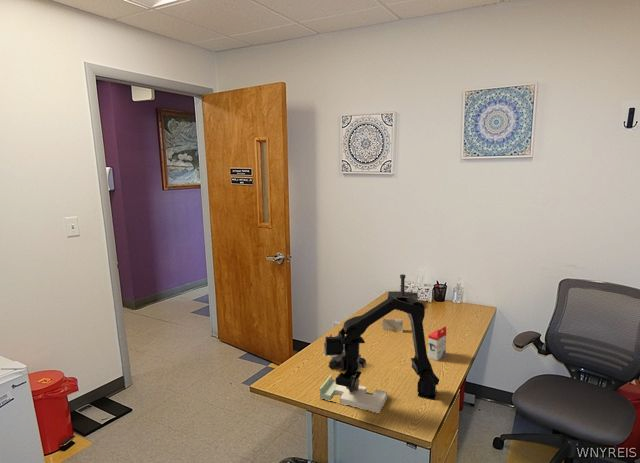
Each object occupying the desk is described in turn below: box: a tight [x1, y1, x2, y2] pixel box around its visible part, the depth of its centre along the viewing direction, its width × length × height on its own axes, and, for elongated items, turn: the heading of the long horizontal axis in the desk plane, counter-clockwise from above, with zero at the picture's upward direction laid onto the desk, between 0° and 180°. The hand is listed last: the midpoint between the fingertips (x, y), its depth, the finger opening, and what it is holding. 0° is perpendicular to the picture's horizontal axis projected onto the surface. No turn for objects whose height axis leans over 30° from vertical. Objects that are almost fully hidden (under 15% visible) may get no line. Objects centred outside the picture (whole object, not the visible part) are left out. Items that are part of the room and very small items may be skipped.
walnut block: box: [346, 378, 360, 391], centre depth 151 cm, size 4×4×4 cm
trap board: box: [319, 374, 388, 414], centre depth 150 cm, size 24×11×4 cm, turn 65°
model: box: [382, 317, 404, 333], centre depth 211 cm, size 3×11×8 cm, turn 84°
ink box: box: [427, 325, 447, 361], centre depth 181 cm, size 8×5×15 cm, turn 135°
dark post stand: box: [386, 274, 419, 300], centre depth 253 cm, size 19×17×20 cm
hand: (351, 391), depth 148 cm, fingers closed
